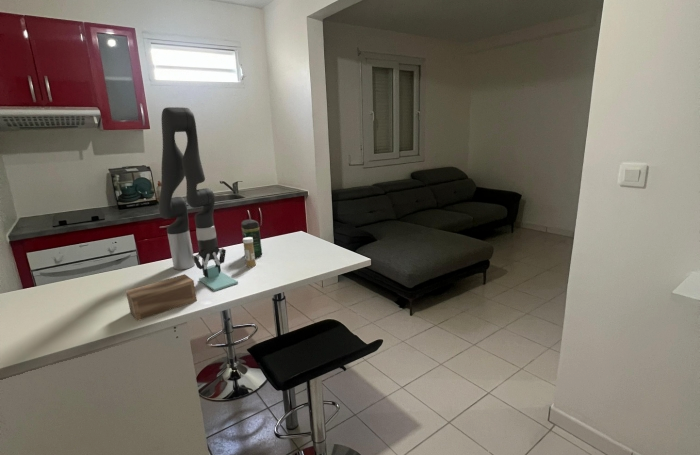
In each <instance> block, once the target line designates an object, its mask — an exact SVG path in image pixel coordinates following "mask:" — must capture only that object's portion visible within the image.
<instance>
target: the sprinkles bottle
mask: <svg viewBox="0 0 700 455" xmlns="http://www.w3.org/2000/svg"><path fill="white" fill-rule="evenodd" d="M242 244H243V249H244V257H245V266H246V267H247V268H252V267H255V266H256V265H257V263H256V258H255V254H254V247H253V238H252V237H246V238H243V237H242Z"/></svg>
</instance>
